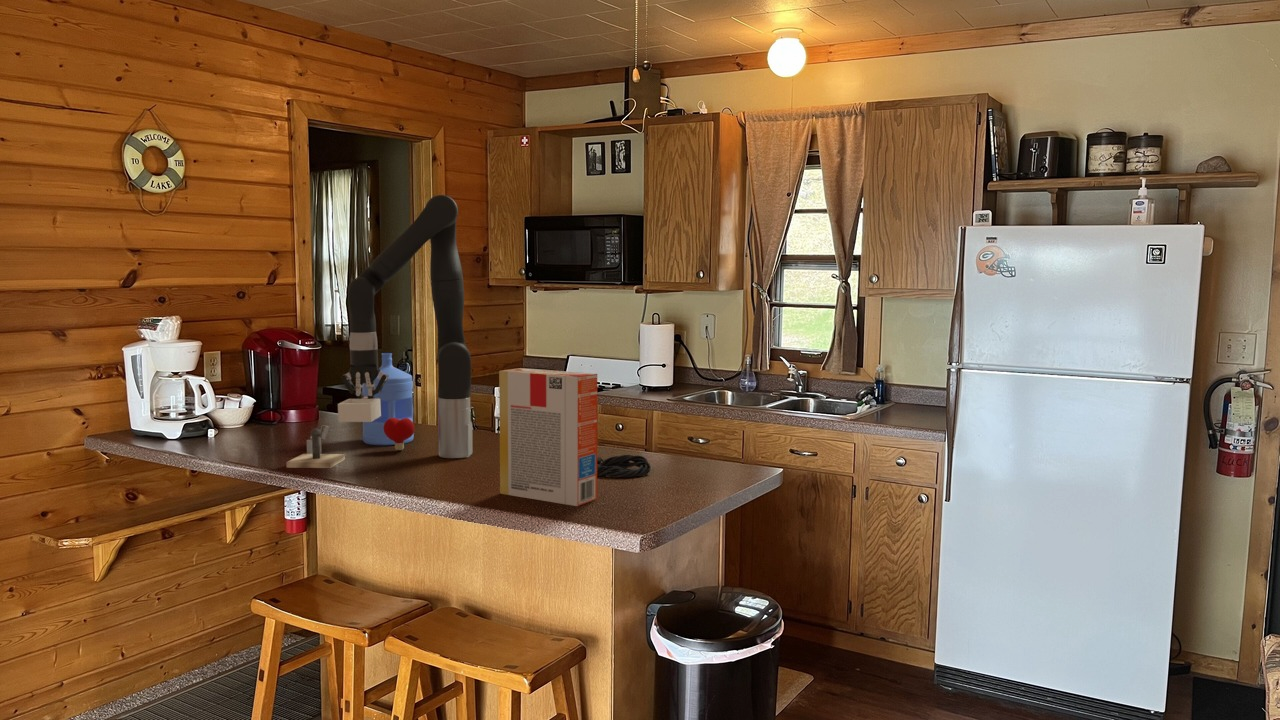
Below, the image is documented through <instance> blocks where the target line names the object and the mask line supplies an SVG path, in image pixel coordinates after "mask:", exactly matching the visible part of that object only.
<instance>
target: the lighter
mask: <svg viewBox="0 0 1280 720" xmlns="http://www.w3.org/2000/svg"><path fill="white" fill-rule="evenodd" d="M329 428H330V426H329V425H325V424H322V425H321V427H320V429H319V430H320V431H321V435H320V454H323V453H322V441H325V440H326V437H327V435H328V432H329ZM306 454H312V436H311V435H310V438H309V439H307V440H306Z"/></svg>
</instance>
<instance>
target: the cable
mask: <svg viewBox="0 0 1280 720" xmlns="http://www.w3.org/2000/svg"><path fill="white" fill-rule="evenodd" d="M632 467H637V469H635V468H634V469H629V468H632ZM627 468H628V469H627ZM650 471H651V465H650V463H649V461H648V459H647V458H646V457H644V456H642V455H632V454H624V455H623V454H622V455H615V456H610V457H608V458H605V459H603V458H602V457H600V456H597V477H600V476H607V477H609V478H612V479H613V478H615V479H617V478H624V479H625V478H626V479H628V478H637V477H638V478H639V477H644V476H647V475H648V474H649V473H650Z"/></svg>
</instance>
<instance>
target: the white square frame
mask: <svg viewBox="0 0 1280 720" xmlns="http://www.w3.org/2000/svg"><path fill="white" fill-rule="evenodd" d="M337 415H338V416H337V417H338V420H337V421H338V422H339V423H363V422H372V421H374V420H375V419H377V418H378V417H380V416H381V405H380V399H368V397H364V398H362V399H357V398H348V399H345V400H343V401H340V402H339V403H337Z"/></svg>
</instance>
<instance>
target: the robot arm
mask: <svg viewBox="0 0 1280 720" xmlns="http://www.w3.org/2000/svg"><path fill="white" fill-rule="evenodd" d="M458 209H459V208H458V205H457V203H456V201H455V200H454V199H453V198H452V197H450V195H449V196H448V195H446V194H436V195H434V196H433V197H431V198H429V199H428V201H426V204H425V207H424V208H423V209H422V210H421V212H420V214H419V215H418V216H417V218H416V219H415V220H414V221H413V222H412V223H411V224H410V226H409V227H407V229H406V230H404V231H403V232H402V233H401V234H400V235H399V236H398V237H397V238H396V239H394V240H393V241H392V242H391V243H389V244H388V246H387V247H385V249H383V251H381V252H380V253H379V254H378V255H377V256H376V257H375V258H374V259H373V260H372V262H371V263H370V265H369V266H368V267H367V268H366V269H365V270H364V271H363V272H361V274H359V275H358V276H357V277H355V278H353V279H352V280H351V281H350V283H349V285H348V288H347V295H348V297H347V298H348V304H349V306H348V307H349V312H350V313H349V316H350V317H349V332H350V333H349V334H350V336H349V345H348V346H349V353H350V355H349V357H350V359H349V360H350V363H349V364H350V368H349V370H348V372H347V373H345V374H341V376H340V379H341V380H342V382H343V384H344V385H345V387H346V388H347V389H346V390H348V392H349V393H350V394H351V395H355V396H356V399H362V398H364V395H363V386H364V383H365V384H366V385H367V389H368V395H369V396H368V399H375V397H374V396H375V394H377V393H380V392H381V390H382V388H383V386H384V384H385V383H386V381H387V379H388V377H389V375H388V374H384V373H382V372H380V369H379V368H380V367H379V351H378V350H379V349H378V347H379V345H378V336H377V322H376V321H377V320H376V314H375V296H376V294H377V293H379V291H380V290H381V289H382V288H383V287H384V286H385V284H386V283H387V282H388V281H390V280H391V279H393V278H394V277H395V276H396V275H397V274H398V273H399V272H400V271H401V270H402V269H403V268H404V267H405V266H406V265H407V264H408V263H409V262H410V260H411V259H412V258H413V257H414V256H415V255H416V254H417V252H418V251H419V250H420V249H421V248H422V247H423V246H424V245H425V244H426V243H427V242H428V241H430V266H429V267H430V268H429V269H430V272H429V273H430V275H429V276H430V277H429V278H430V289H431V298H432V305H433V310H434V315H435V320H436V326H437V350H436V351H437V352H436V361H437V364H438V366H437V368H438V387H437V406H438V407H437V410H438V411H437V412H438V413H437V415H438V416H437V417H438V420H437V422H438V423H437V424H438V426H437V427H438V429H437V430H438V457H440V458H443V459H444V458H445V459H462V458H470V456H471V455H473V422H472V421H471V388H472V356H471V352H470V351H469V349H468V348H467V344H466V339H465V334H464V333H465V332H464V326H463V325H464V324H463V323H464V322H463V321H464V311H465V308H464V307H465V288H464V287H465V286H464V276H463V274H464V273H463V269H462V263H461V259H460V255H459V250H458V247H457V219H458V215H459V210H458ZM378 375H379V380H380V381H379V383H378V385H377V387H376V389H374V386H375V385H374V381H375V379H376V378H377V376H378ZM352 379H353V380H354V382H355V385H354V383H353V381H352Z"/></svg>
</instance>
